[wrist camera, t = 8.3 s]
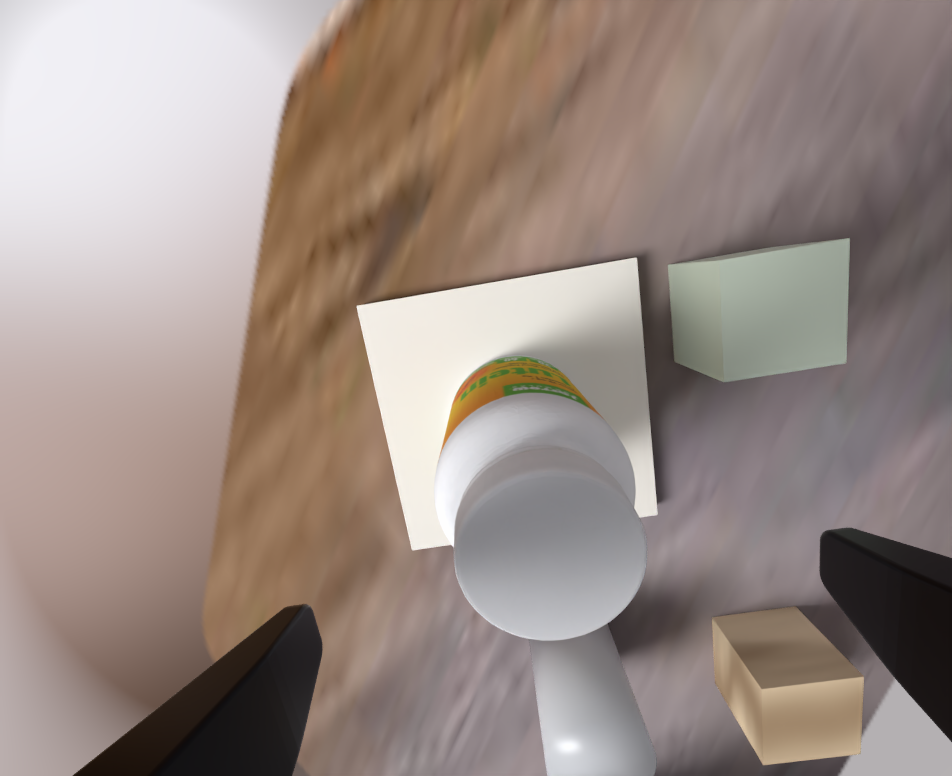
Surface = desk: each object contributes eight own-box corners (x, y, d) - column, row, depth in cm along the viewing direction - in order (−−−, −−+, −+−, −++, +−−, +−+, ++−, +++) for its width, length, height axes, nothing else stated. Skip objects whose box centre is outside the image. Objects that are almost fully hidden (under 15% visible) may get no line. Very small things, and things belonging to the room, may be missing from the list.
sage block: (769, 345, 18) (846, 363, 15) (673, 361, 19) (723, 382, 15) (768, 247, 18) (850, 237, 14) (667, 264, 18) (719, 260, 14)
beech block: (794, 671, 22) (860, 754, 18) (714, 681, 23) (763, 765, 19) (794, 605, 21) (863, 676, 18) (711, 616, 22) (761, 689, 18)
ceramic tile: (650, 505, 20) (657, 514, 19) (414, 540, 21) (412, 550, 20) (630, 258, 18) (637, 257, 17) (361, 304, 18) (356, 305, 17)
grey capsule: (613, 663, 22) (660, 800, 16) (534, 674, 22) (553, 812, 17) (605, 596, 21) (652, 715, 15) (523, 607, 22) (539, 729, 16)
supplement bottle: (565, 338, 18) (662, 404, 8) (591, 460, 19) (703, 641, 9) (434, 371, 18) (383, 472, 8) (469, 489, 19) (458, 691, 10)
